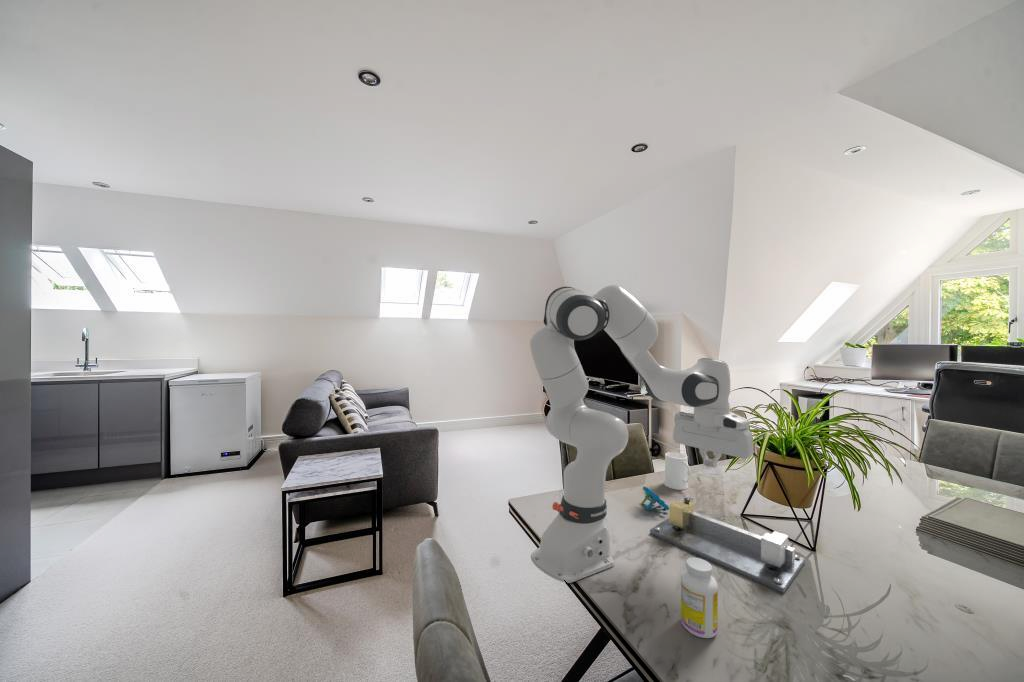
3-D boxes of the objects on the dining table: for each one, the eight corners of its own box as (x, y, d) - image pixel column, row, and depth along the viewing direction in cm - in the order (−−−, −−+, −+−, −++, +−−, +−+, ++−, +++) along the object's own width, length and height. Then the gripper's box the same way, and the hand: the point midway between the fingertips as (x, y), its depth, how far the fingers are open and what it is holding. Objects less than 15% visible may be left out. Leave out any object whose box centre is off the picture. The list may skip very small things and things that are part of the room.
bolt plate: (783, 593, 85) (783, 585, 85) (650, 533, 110) (650, 527, 110) (804, 562, 96) (804, 556, 96) (679, 515, 122) (679, 509, 121)
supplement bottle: (705, 614, 78) (706, 553, 78) (724, 639, 72) (725, 574, 71) (674, 614, 78) (675, 554, 78) (690, 640, 71) (691, 574, 71)
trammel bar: (784, 577, 89) (785, 546, 88) (661, 525, 112) (662, 501, 112) (795, 563, 94) (795, 534, 94) (675, 516, 118) (675, 494, 118)
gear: (676, 511, 121) (654, 489, 121) (664, 525, 120) (642, 503, 120) (659, 500, 132) (639, 480, 132) (648, 513, 131) (628, 493, 131)
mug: (698, 492, 139) (699, 460, 139) (679, 494, 137) (679, 462, 137) (678, 480, 151) (678, 451, 151) (659, 482, 149) (660, 452, 149)
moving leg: (682, 533, 108) (682, 508, 107) (669, 527, 111) (669, 503, 111) (695, 523, 113) (695, 499, 113) (682, 518, 116) (682, 495, 116)
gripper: (669, 411, 109) (668, 458, 109) (747, 424, 94) (746, 479, 94) (679, 409, 113) (678, 454, 113) (756, 421, 98) (755, 474, 98)
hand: (710, 466), depth 103 cm, fingers closed
